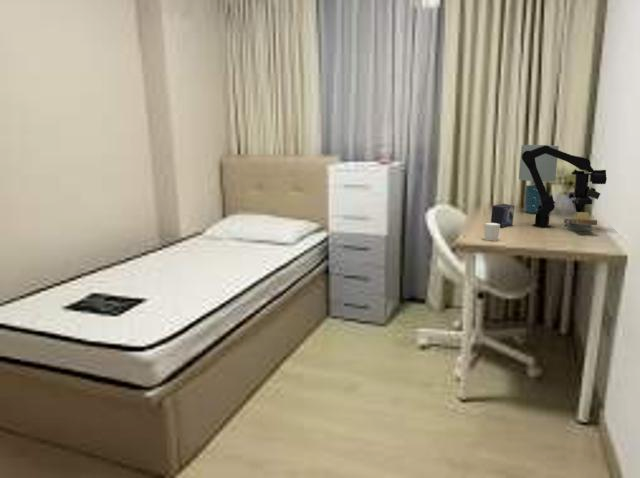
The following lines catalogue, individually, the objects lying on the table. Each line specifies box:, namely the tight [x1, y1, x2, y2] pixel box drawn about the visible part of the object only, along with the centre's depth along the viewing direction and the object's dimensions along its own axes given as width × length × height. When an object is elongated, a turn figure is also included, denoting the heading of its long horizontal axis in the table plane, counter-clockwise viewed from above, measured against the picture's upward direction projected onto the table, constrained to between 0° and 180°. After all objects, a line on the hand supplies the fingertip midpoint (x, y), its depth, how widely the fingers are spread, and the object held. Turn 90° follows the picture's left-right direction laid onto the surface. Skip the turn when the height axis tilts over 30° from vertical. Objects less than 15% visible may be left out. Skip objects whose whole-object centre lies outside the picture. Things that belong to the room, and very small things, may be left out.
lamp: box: [518, 144, 560, 215], centre depth 305 cm, size 19×19×38 cm
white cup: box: [483, 222, 501, 242], centre depth 239 cm, size 7×7×7 cm
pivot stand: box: [565, 220, 594, 236], centre depth 260 cm, size 25×11×5 cm, turn 169°
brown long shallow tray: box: [563, 218, 598, 226], centre depth 259 cm, size 26×8×2 cm, turn 169°
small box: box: [490, 203, 515, 229], centre depth 269 cm, size 11×6×10 cm, turn 129°
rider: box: [572, 211, 590, 220], centre depth 259 cm, size 7×5×4 cm
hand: (578, 215), depth 264 cm, fingers closed
